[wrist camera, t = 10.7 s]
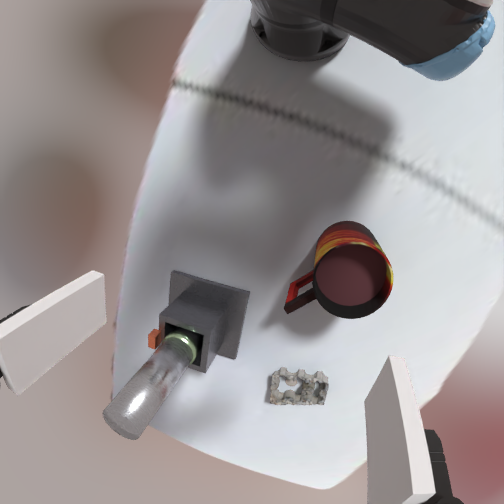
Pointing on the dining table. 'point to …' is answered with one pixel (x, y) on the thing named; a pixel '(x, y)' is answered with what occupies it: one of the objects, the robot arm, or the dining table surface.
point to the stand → (203, 316)
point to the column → (152, 384)
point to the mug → (345, 273)
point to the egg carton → (307, 388)
